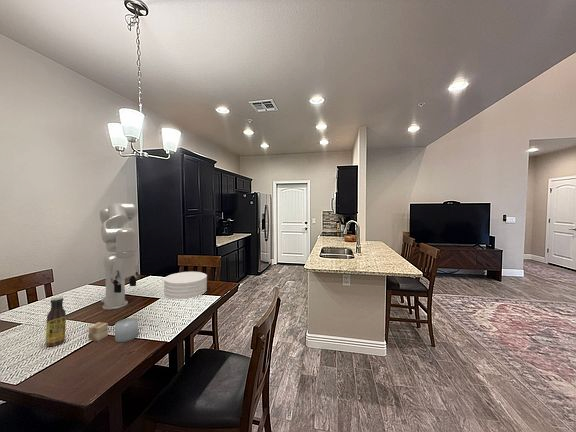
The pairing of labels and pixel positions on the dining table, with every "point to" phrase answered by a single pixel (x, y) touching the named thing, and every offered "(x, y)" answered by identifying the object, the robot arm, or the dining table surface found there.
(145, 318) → the dining table surface
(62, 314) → the sauce bottle
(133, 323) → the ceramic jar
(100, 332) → the maple block
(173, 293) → the plate stack
